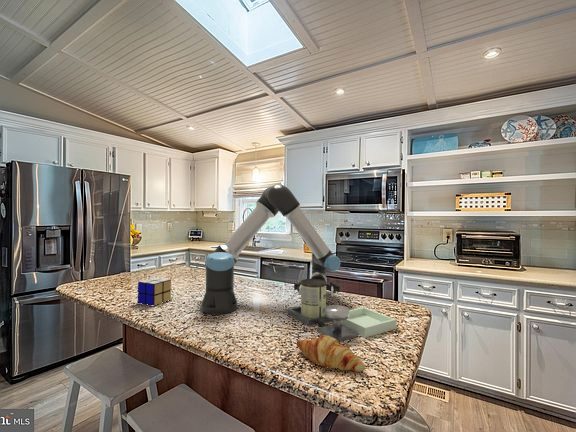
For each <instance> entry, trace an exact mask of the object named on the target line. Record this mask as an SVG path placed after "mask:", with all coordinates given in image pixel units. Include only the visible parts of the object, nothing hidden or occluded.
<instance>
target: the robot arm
mask: <svg viewBox="0 0 576 432" xmlns="http://www.w3.org/2000/svg"><path fill="white" fill-rule="evenodd" d="M255 203H256V204H255V207H254V209H253V210H251V212H250V213H249V215H248V216H247V217H246V218H245V219H244V221H243V222H242V223H241V224H240V225H239V226H238V228H237V229H236V230H235V231H234V232H233V233H232V234H231V235H230V237H229V238H228V240H227V241H226V242H225V243H222V244H219V245H218V246H217V247H216V249H215V250H214V251H212V252H211V253H208V254H207V256H206V258H205V262H204V263H205V265H204V266H205V292H204V295H203V299H202V301H201V304H200V307H201V308H200V311H201V310H202V311H203V312H202V311H201V312H202V313H204V312H205V313H204V314H208V313H209V314H208V315H224V314H230V313H232V312H234V311H236V310H238V301H237V300H238V299H237V297H236V294H235V291H234V282H235V281H234V279H235V277H234V276H235V271H234V270H235V269H234V268H235V265H236V264H237V262H239V255H240V254H241V253H242V251H243V250H245V248H246V247H247V245H248V244H249V243H250V242H251V241H252V239H253V238H254V237H255V236H256V235H257V234H258V233H259V231H260V230H261V229H262V227H263V226H264V225H265V224H266V222H267V221H268V220H269V219H270V218H275V217H276V215H277V214H278V213H280V214H281V215H282V216H283V217H284V218H286V219H287V220H288V222H289V223H290V224H291V225H292V227H294V230H295V231H296V232H297V233H298V235H299V236H300V238H301V239H302V240H303V241H304V243H305V244H306V246H307V247H308V248H309V250H310V251H311V276H310V277H311V278H310V279H321V280H324V281H326V282H327V271H329V272H336V271H337V270H338V269H339V268H341V267H340V266H341V259H340V258H339V257H338V256H337V255H335V254H334V253H333V252H332V251H331V249H330V248H329V246H328V245H327V244H326V242H325V241H324V240H323V238H322V237H321V235H320V233H319V232H318V231H317V230H316V229H315V227H314V225H313V224H312V223H311V221H310V219H309V218H308V217H307V216H306V214H305V213H304V211H303V210H302V209H301V203H300V202H299V200H298V199H297V197H296V196H295V195H294V194H293V192H292V191H291V189H289V188H288V187H287V186H285V185H282V184H275V185H273V186H270V187H267V188H265V190H264V191H263V192H262V194H261V196H260V197H259V198H258V199H257V201H256V202H255ZM293 287H294V288H293V290H295V291H296V292H297V293H298V296H301V281H299V282H295V283H294V285H293ZM326 291H329V292H330V293H331V295H330V296H331V297H332V298H333V297H334V294H336V293H340V292H341V286H340V285H337V284H335V283H334V282H332V281H329V282H328V283H327V284H326Z"/></svg>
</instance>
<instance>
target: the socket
mask: <svg viewBox="0 0 576 432" xmlns="http://www.w3.org/2000/svg"><path fill="white" fill-rule="evenodd" d="M287 315H289V316H291V317H292V318H295V319H296V320H298V321H300V322H301V323H303V324H305V325H306V326H307V327H310V326H315V325H318V323H320V322H322V323H324V324H325V323H328V322H333V319H330V318H328V317H326V316H322V317H317V318H313V319H308V318H306V317H305V316H303V315H301V306H297V307H296V306H295V307H291V308H290V307H289V308H287Z"/></svg>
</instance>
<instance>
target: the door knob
mask: <svg viewBox="0 0 576 432" xmlns="http://www.w3.org/2000/svg"><path fill="white" fill-rule="evenodd" d="M349 310H350V308H349V307H347V306H344V305H337V304H335V305H334V304H333V305H326V317H328V318H330V319H333V321H332V324H328V325H327V324H325V322H324V323H322V322H320V323H318V324H317V325H318V327H316V332H317V333H319V334H320V335H325V336H330V337H333V338H335V339H336V340H337V341H338V342H343V341H347V340H350V339H353V338H357V337H359V335H358V332H356V331H354V330H352V329H350V328H348V327H346V326H344V325H342V320H345V319H348V318H349Z"/></svg>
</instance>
